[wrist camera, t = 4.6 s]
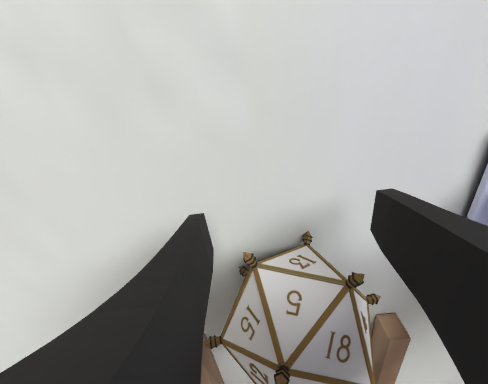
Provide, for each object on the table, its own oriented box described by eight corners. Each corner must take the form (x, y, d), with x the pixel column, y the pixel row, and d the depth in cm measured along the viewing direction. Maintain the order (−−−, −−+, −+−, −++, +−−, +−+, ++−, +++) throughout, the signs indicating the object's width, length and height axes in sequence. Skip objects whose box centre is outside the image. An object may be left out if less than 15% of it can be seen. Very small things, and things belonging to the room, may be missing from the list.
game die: (299, 218, 19) (456, 302, 12) (256, 312, 20) (381, 440, 13) (211, 196, 13) (434, 345, 6) (155, 335, 14) (290, 607, 7)
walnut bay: (395, 312, 19) (410, 338, 18) (372, 393, 27) (382, 417, 25) (187, 336, 20) (182, 362, 18) (219, 408, 27) (218, 432, 26)
